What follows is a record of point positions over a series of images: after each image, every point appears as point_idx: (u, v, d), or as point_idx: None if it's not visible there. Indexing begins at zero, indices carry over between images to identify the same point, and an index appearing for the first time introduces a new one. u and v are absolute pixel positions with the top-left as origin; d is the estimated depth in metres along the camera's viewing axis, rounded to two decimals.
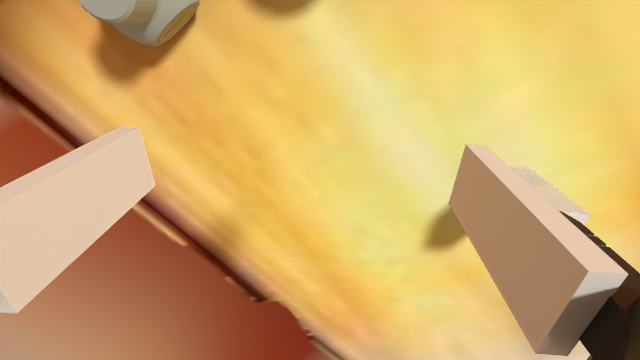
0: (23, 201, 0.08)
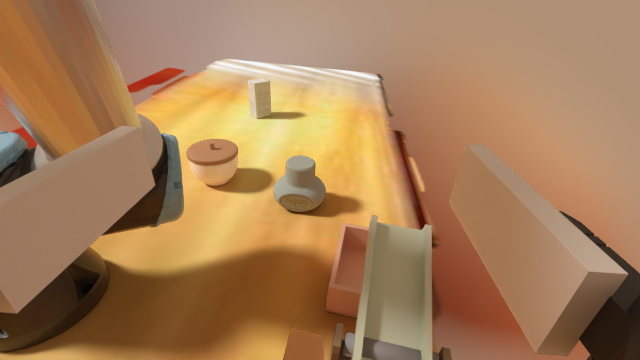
0: (23, 201, 0.08)
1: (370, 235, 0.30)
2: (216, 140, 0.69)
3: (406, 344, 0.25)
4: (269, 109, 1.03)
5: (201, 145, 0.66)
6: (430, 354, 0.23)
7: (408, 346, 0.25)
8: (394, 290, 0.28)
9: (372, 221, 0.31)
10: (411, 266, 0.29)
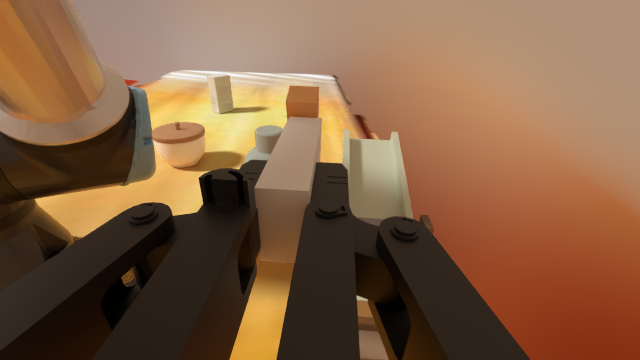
0: None
1: (344, 142, 0.32)
2: (181, 123, 0.68)
3: None
4: (231, 104, 1.04)
5: (166, 127, 0.65)
6: (411, 215, 0.26)
7: None
8: (372, 182, 0.30)
9: (345, 133, 0.33)
10: (384, 165, 0.32)
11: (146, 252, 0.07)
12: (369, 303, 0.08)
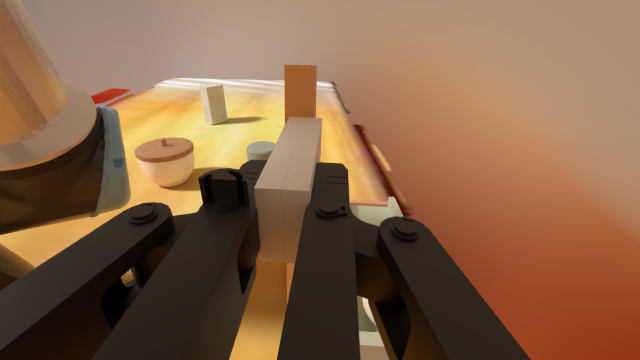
0: None
1: None
2: (168, 138, 0.64)
3: None
4: (225, 114, 1.00)
5: (151, 144, 0.61)
6: None
7: None
8: None
9: None
10: None
11: (146, 252, 0.07)
12: (370, 303, 0.08)
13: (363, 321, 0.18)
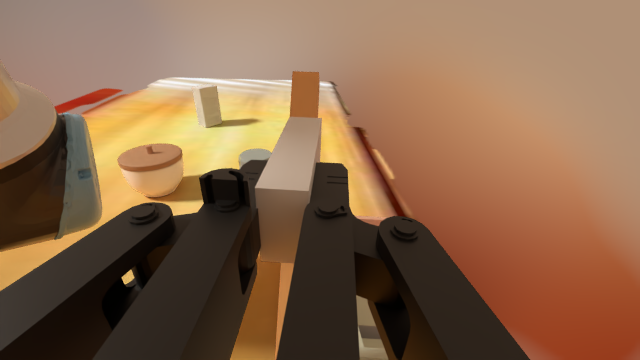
0: None
1: None
2: (155, 145, 0.59)
3: None
4: (219, 116, 0.95)
5: (136, 151, 0.56)
6: None
7: None
8: None
9: None
10: None
11: (146, 252, 0.07)
12: (369, 303, 0.08)
13: None
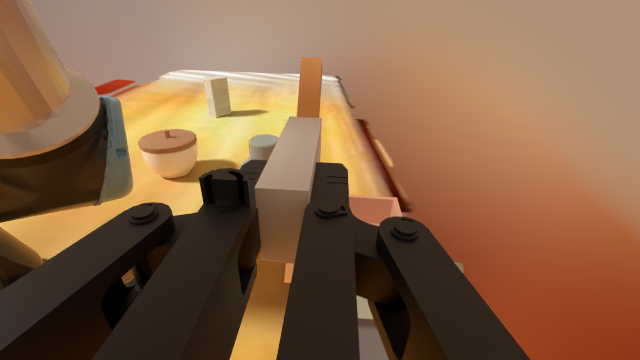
0: None
1: None
2: (171, 130, 0.64)
3: None
4: (228, 107, 1.00)
5: (155, 135, 0.61)
6: None
7: None
8: None
9: None
10: None
11: (146, 252, 0.07)
12: (369, 303, 0.08)
13: None
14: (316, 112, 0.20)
